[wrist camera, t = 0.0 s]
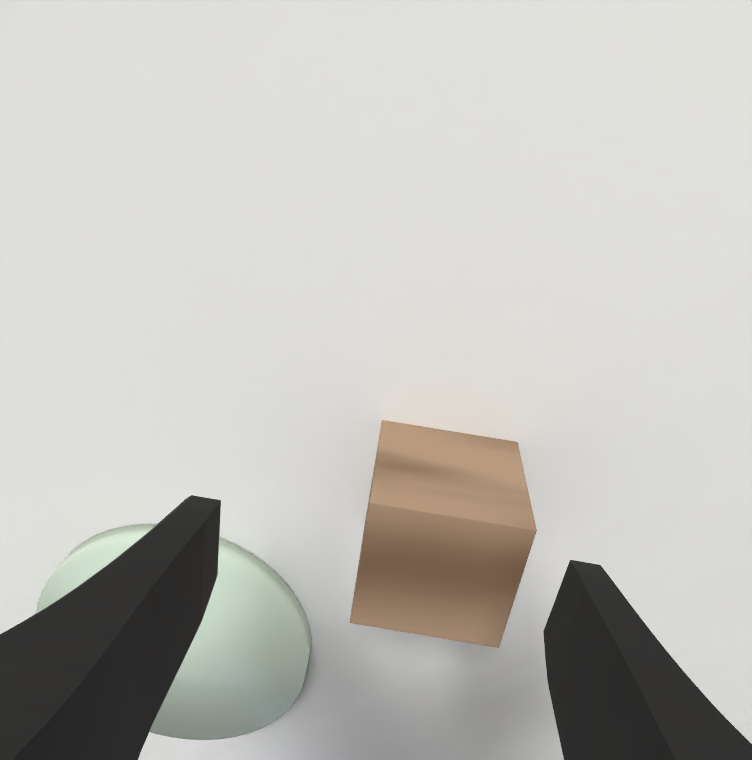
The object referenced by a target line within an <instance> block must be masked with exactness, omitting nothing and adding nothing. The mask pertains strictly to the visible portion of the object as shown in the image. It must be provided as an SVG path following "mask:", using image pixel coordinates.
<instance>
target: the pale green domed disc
mask: <svg viewBox="0 0 752 760" xmlns="http://www.w3.org/2000/svg"><path fill="white" fill-rule="evenodd" d="M156 525H157V524H140V525H130V526H124V527H120V528H115V529H111V530H108V531H105V532H103V533H100V534H97V535H95V536H93V537H91V538H90V539H88V540H86V541H84V542H82V543H81V544H80V545H79V546H77V547H76V548H75V549H74V550H72V551H71V552H70V554H69V555H68V556H67V557H66V558H65V559H64V560H63V562H62V563H61V564H60V566H59V567H58V568H57V570H56V571H55V572H54V574H53V575H52V576H51V578H50V579H49V580H48V582H47V583H46V585H45V587H44V589H43V590H42V592H41V595H40V598H39V601H38V605H37V612H36V614H37V613H38V612H40V611H41V610H43V609H45V608H46V607H48V606H49V605H51V604H52V603H54V602H56V601H57V600H59V599H60V598H62V597H63V596H65V595H66V594H68V593H69V592H71V591H72V590H73V589H75V588H76V587H78V586H79V585H81V584H82V583H83V582H85V581H86V580H87V579H89V578H90V577H91V576H93V575H94V574H96V573H97V572H98V571H100V570H101V569H102V568H104V567H105V566H107V565H108V564H109V563H111V562H112V561H113V560H114V559H116V558H117V557H118V556H119V555H121V554H122V553H123V552H124V551H126V550H127V549H128V548H129V547H131V546H132V545H133V544H134V543H136V542H137V541H138V540H139V539H141V538H142V537H143V536H144V535H145V534H147V533H148V532H149V531H150V530H151V529H152V528H154V527H155V526H156ZM310 651H311V635H310V628H309V624H308V620H307V617H306V614H305V612H304V610H303V608H302V606H301V604H300V602H299V600H298V598H297V597H296V595H295V594H294V592H293V591H292V590H291V588H290V587H289V586H288V585H287V583H286V582H285V581H284V580H283V579H282V578H281V577H280V576H279V575H278V574H277V573H276V572H275V571H274V570H273V569H272V568H270V567H269V566H268V565H267V564H266V563H265V562H263V561H262V560H260V559H259V558H257V557H256V556H255V555H253V554H252V553H250V552H248V551H247V550H245V549H243V548H241V547H240V546H238V545H236V544H234V543H232V542H229V541H227V540H225V539H222V538H220V537H219V553H218V576H217V579H216V582H215V585H214V588H213V591H212V594H211V597H210V599H209V602H208V605H207V608H206V611H205V614H204V617H203V619H202V622H201V624H200V626H199V628H198V631H197V633H196V635H195V637H194V639H193V641H192V643H191V645H190V647H189V650H188V652H187V654H186V656H185V658H184V660H183V662H182V664H181V666H180V668H179V670H178V672H177V674H176V677H175V679H174V681H173V683H172V685H171V687H170V689H169V691H168V693H167V695H166V697H165V699H164V701H163V703H162V706H161V708H160V710H159V712H158V714H157V716H156V718H155V720H154V722H153V724H152V726H151V729H150V731H149V732H152V733H155V734H159V735H164V736H169V737H175V738H182V739H195V740H212V739H224V738H231V737H236V736H240V735H244V734H248V733H251V732H253V731H256V730H258V729H261V728H263V727H265V726H267V725H268V724H270V723H272V722H274V721H275V720H276V719H278V718H279V717H280V716H282V715H283V714H284V713H285V712H286V711H287V710H288V709H289V708H290V707H291V706H292V705H293V703H294V702H295V700H296V699H297V697H298V696H299V693H300V691H301V689H302V687H303V684H304V679H305V675H306V670H307V665H308V661H309V656H310Z"/></svg>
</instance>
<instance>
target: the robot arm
mask: <svg viewBox="0 0 752 760" xmlns="http://www.w3.org/2000/svg"><path fill="white" fill-rule="evenodd" d="M220 506H221V500H216V499H210V498H204V497H198V496H192V495H191V496H190V497H188V498H187V499H185V500H184V501H183V502H182V503H181V504H180V505H179V506H177V507H176V508H175V509H174V510H173V511H172V512H171V513H170V514H168V515H167V516H166V517H165V518H164V519H163V520H162V521H161V522H159V523H158V524H157V525H156V526H155V527H154V528H152V529H151V530H150V531H149V532H148V533H147V534H145V535H144V536H143V537H142V538H141V539H139V540H138V541H137V542H136V543H134V544H133V545H132V546H131V547H129V548H128V549H127V550H126V551H124V552H123V553H122V554H121V555H119V556H118V557H117V558H116V559H114V560H113V561H112V562H111V563H109V564H108V565H107V566H105V567H104V568H102V569H101V570H100V571H98V572H97V573H96V574H94V575H93V576H91V577H90V578H89V579H87V580H86V581H85V582H83V583H82V584H81V585H79V586H78V587H76V588H75V589H73V590H72V591H71V592H69V593H68V594H66V595H65V596H63V597H62V598H60V599H59V600H57V601H56V602H54V603H52V604H51V605H49V606H48V607H46V608H45V609H43V610H41V611H40V612H38V613H37V614H35V615H33V616H32V617H30V618H28V619H27V620H25V621H23V622H22V623H20V624H18V625H16V626H15V627H13V628H11V629H9V630H7V631H6V632H4V633H2V634H0V760H138V758H139V755H140V752H141V750H142V747H143V745H144V743H145V740H146V738H147V736H148V733H149V731H150V729H151V726H152V724H153V722H154V720H155V718H156V716H157V714H158V712H159V710H160V708H161V706H162V703H163V701H164V699H165V697H166V695H167V693H168V691H169V689H170V687H171V685H172V683H173V681H174V679H175V677H176V674H177V672H178V670H179V668H180V666H181V664H182V662H183V660H184V658H185V656H186V654H187V652H188V650H189V647H190V645H191V643H192V641H193V639H194V637H195V635H196V633H197V631H198V628H199V626H200V624H201V622H202V619H203V617H204V614H205V611H206V608H207V605H208V602H209V599H210V597H211V594H212V591H213V588H214V585H215V582H216V579H217V576H218V553H219V529H220ZM544 643H545V657H546V668H547V678H548V685H549V690H550V695H551V700H552V704H553V709H554V714H555V719H556V724H557V728H558V733H559V738H560V742H561V747H562V752H563V756H564V760H752V744H751V743H750V742H749V741H748V740H747V739H746V738H745V737H744V736H743V735H742V734H741V733H740V732H739V731H738V730H737V729H736V728H735V727H734V726H733V725H732V724H731V723H730V722H729V721H728V720H727V719H726V718H725V717H724V716H723V715H722V714H721V713H720V712H719V711H718V710H717V709H716V707H715V706H714V705H713V704H712V703H711V702H710V701H709V700H708V699H707V698H706V697H705V695H704V694H703V693H702V692H701V691H700V690H699V689H698V687H697V686H696V685H695V684H694V683H693V682H692V681H691V679H690V678H689V677H688V676H687V675H686V674H685V673H684V672H683V670H682V669H681V668H680V667H679V666H678V664H677V663H676V662H675V661H674V660H673V658H672V657H671V656H670V655H669V653H668V652H667V651H666V650H665V649H664V647H663V646H662V645H661V644H660V642H659V641H658V640H657V639H656V637H655V636H654V635H653V634H652V632H651V631H650V630H649V628H648V627H647V626H646V625H645V623H644V622H643V621H642V619H641V618H640V617H639V615H638V614H637V613H636V611H635V610H634V609H633V608H632V606H631V605H630V604H629V602H628V601H627V600H626V598H625V597H624V596H623V594H622V593H621V592H620V590H619V589H618V588H617V586H616V585H615V584H614V582H613V581H612V580H611V578H610V577H609V576H608V574H607V573H606V572H605V571H604V569H603V568H602V567H601V565H597V564H591V563H585V562H579V561H574V560H570V562H569V565H568V567H567V570H566V573H565V575H564V578H563V581H562V584H561V586H560V589H559V592H558V594H557V597H556V600H555V602H554V605H553V608H552V610H551V613H550V616H549V618H548V621H547V624H546V626H545V629H544Z"/></svg>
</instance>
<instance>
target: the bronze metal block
mask: <svg viewBox="0 0 752 760" xmlns="http://www.w3.org/2000/svg"><path fill="white" fill-rule="evenodd" d="M536 531H537V530H536V525H535V521H534V516H533V512H532V507H531V502H530V498H529V493H528V489H527V484H526V479H525V475H524V470H523V466H522V461H521V456H520V452H519V447H518V443H517V442H514V441H507V440H501V439H495V438H489V437H483V436H477V435H470V434H464V433H458V432H452V431H446V430H440V429H433V428H427V427H421V426H415V425H409V424H403V423H396V422H390V421H384V420H382V424H381V430H380V436H379V442H378V448H377V454H376V460H375V466H374V473H373V479H372V485H371V491H370V497H369V503H368V509H367V515H366V521H365V527H364V534H363V540H362V546H361V553H360V559H359V566H358V572H357V579H356V585H355V592H354V598H353V605H352V611H351V617H350V623H355V624H361V625H367V626H372V627H378V628H384V629H390V630H396V631H402V632H408V633H414V634H420V635H426V636H432V637H438V638H444V639H450V640H456V641H462V642H468V643H474V644H480V645H486V646H492V647H498V648H499V645H500V642H501V639H502V636H503V633H504V630H505V627H506V624H507V621H508V617H509V614H510V611H511V608H512V605H513V602H514V599H515V596H516V593H517V590H518V587H519V583H520V580H521V577H522V574H523V571H524V568H525V565H526V562H527V559H528V556H529V553H530V549H531V546H532V543H533V540H534V537H535V534H536Z"/></svg>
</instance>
